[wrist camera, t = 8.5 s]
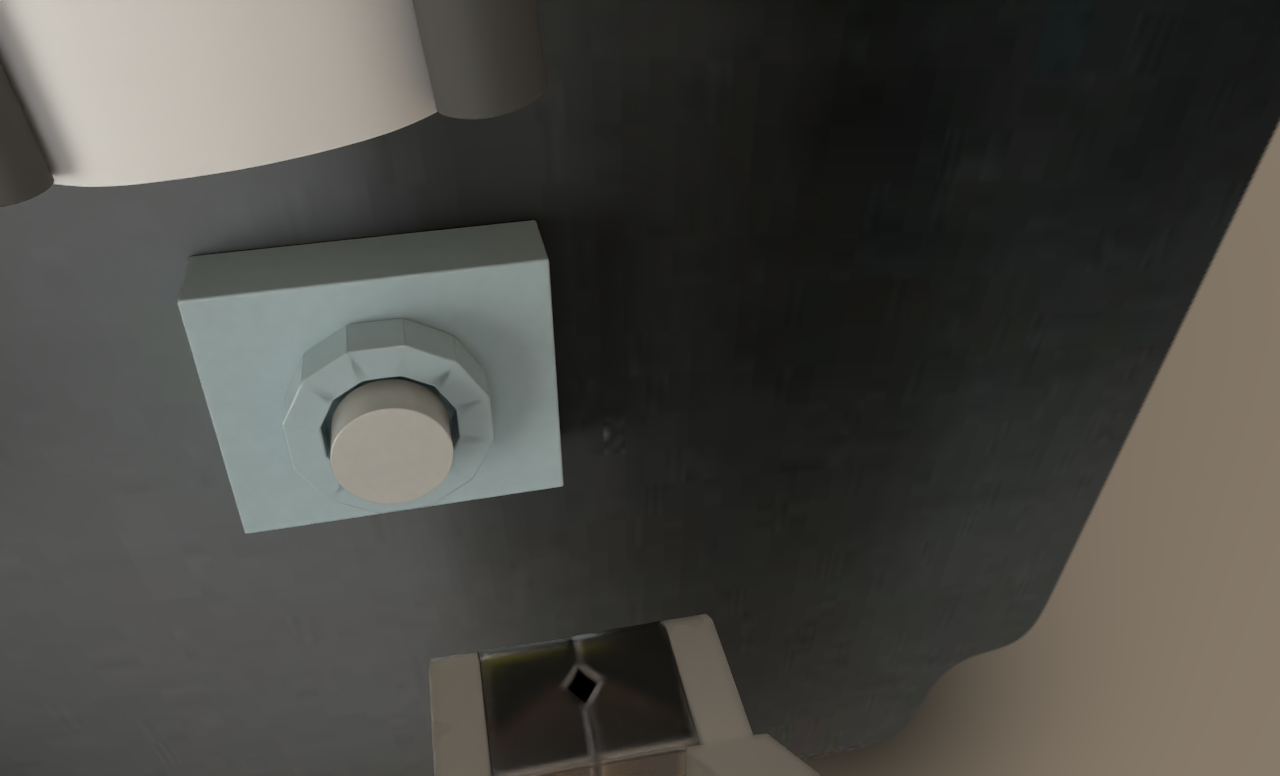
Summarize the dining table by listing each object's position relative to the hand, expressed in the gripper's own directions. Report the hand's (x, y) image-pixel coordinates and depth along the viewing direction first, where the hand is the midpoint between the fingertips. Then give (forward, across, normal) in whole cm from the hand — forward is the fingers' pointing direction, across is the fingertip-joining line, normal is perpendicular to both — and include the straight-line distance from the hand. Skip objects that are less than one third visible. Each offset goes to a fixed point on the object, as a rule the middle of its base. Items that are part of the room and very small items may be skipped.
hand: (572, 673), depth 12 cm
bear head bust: (+28, +5, -3) cm, 28 cm away
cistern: (+28, +4, +13) cm, 31 cm away
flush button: (+23, +4, +13) cm, 27 cm away
